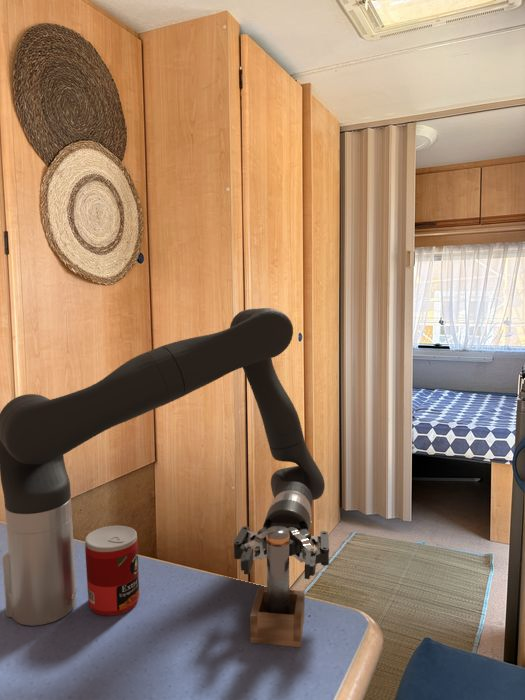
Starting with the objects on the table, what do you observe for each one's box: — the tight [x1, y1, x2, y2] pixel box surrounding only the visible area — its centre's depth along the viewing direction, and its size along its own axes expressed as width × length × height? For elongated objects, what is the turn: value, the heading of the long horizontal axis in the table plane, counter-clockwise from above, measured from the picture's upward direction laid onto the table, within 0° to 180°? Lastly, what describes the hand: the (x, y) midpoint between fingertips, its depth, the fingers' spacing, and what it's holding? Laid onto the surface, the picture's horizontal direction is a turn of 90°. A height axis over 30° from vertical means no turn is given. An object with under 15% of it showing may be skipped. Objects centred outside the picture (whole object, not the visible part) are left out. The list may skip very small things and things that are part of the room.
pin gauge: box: [266, 526, 290, 615], centre depth 76 cm, size 3×3×14 cm
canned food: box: [84, 525, 140, 617], centre depth 84 cm, size 8×8×11 cm
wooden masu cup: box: [249, 587, 306, 648], centre depth 77 cm, size 7×7×4 cm
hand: (276, 570), depth 74 cm, fingers open, 8 cm apart
